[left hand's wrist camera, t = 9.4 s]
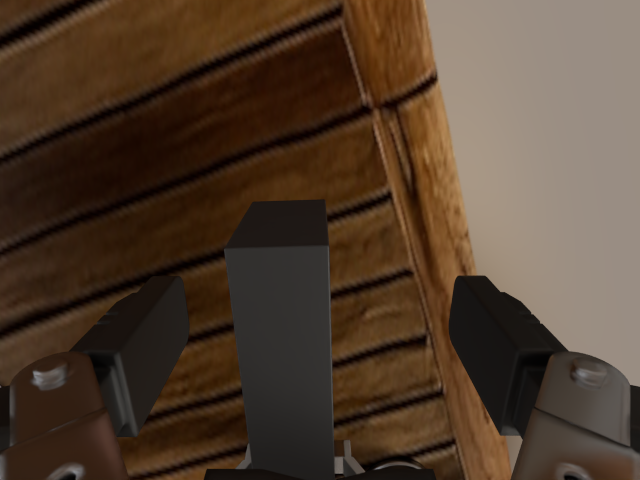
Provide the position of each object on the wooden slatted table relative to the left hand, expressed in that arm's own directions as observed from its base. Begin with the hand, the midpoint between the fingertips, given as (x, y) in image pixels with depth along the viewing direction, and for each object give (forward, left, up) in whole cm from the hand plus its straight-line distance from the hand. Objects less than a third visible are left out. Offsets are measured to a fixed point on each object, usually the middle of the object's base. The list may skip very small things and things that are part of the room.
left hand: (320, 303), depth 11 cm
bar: (-12, +5, -18) cm, 22 cm away
